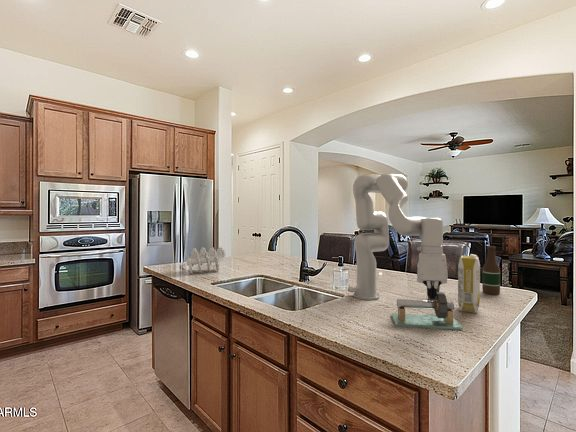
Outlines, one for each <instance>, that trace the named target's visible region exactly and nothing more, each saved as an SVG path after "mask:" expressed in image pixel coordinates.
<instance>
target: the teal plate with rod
mask: <svg viewBox="0 0 576 432" xmlns="http://www.w3.org/2000/svg"><path fill="white" fill-rule="evenodd" d="M447 305H448V313H447V316H446V318H438V317H437V316H436V314H435V315H434V314H433V315H432V314H417V313H416V314H415V313H414V314H413V313H406V309H407V308H409V309H410V308H411V309H428V310H429V309H430V310H434V309H437V310H438V300H436V301H431V300H428V299H426V300H424V299H401V298H397V299H396V306H397V307H396V308H397V313H394V312H391V315H390V316H391V318H392V321H393V324H394V326H395V327H401V328H404V327H405V328H417V329H418V328H419V329H420V328H421V329H422V328H423V329H433V330H434V329H435V330H453V331H454V330H455V331H463V329H464V328H463V326H462V325H461V324H460V323H459V322H458V321H457V320H456V319H455V318H454V309H455V303H454V301H453V300H452V301H449V300H448V301H447Z"/></svg>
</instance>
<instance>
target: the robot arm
mask: <svg viewBox="0 0 576 432" xmlns="http://www.w3.org/2000/svg"><path fill="white" fill-rule="evenodd" d="M407 189H408V179H407V178H406V176H404V175H403V174H400V173H399V174H398V173H383V174H380V175H378V174H363V175H359V176H357V177H356V178H355V180H354V181H353V184H352V194H353V197H354V201H355V202H354V203H355V217H356V225H357V228H358V229H359V230H361V231H373V232H363V233H359V234H358V235H356V236H355V238H354V241H353V243H354V249H355V253H356V254H355V255H356V285H355V286H354V287H347V292H350V293H353V297H354V298H355V299H360V300H365V301H367V300H368V301H373V300H377V299H380V296H381V295H380V293H378V292H377V259H376V257H375V256H374V252H375V253H376V252H384V251H386V250H387V249H388V248H389V245H390V233H389V231H390V229H389V222H390V224H391V226H393V228H394V229H395V231H396V232H397V234H399V235H401V236H403V237H409V236H410V237H411V236H412V237H413V236H417V237H418V236H420V246H417V247H416V250H417V251H419V254H418V260H417V269H416V275H417V277H416V282H417V283H420V284H423V285H424V286H426V296H427V297H428V296H429V298H430V299H432V298H433V299H435V296H436V289H437V288H438V286H440V285H443V284H448V278H449V276H448V275H449V274H448V264H447V263H448V261H447V258H446V257H447V256H446V254H445V253H444V252H443V251H444V249H443V248H444V236H443V235H444V229H443V228H444V221H443V220H442V218H440V217H425V216H406V215H405V213H404V212H403V211H402V209H401V208H402V207H404V206H405V205H406V204H407V203H408V200H409V196H408V194H407V193H406V190H407ZM370 193H371V194H375V193H376V194H377V193H380V194H381V195H382V197H383V199H384V200H385V201H386V203H387V204H388V211H387V213H388V217H387V215H386V213H385V212H384V211H381V210H374V202H373V199H372V197H371V196H370ZM430 281H433V285H432V287H431V284H430Z"/></svg>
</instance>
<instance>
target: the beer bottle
mask: <svg viewBox="0 0 576 432" xmlns="http://www.w3.org/2000/svg"><path fill="white" fill-rule="evenodd" d="M486 249H487V255H486V256H487V257H486V258H487V259H486V261H485V263H484V264H483V266H482V293H484V294H486V295H491V296H492V295H494V296H496V295H497V296H498V295H500V293H501V268H500V265H499V264H498V262H497V257H496V255H497V254H496V249H497V248H496V246H494V245H489V246H487V248H486Z"/></svg>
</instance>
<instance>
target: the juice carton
mask: <svg viewBox="0 0 576 432" xmlns="http://www.w3.org/2000/svg"><path fill="white" fill-rule="evenodd" d="M480 263H481V262H480V260H479V256H478V255H477V254H473V253H469V255H461V256H460V258H459V260H458V264H457V265H458V269H457V270H458V271H457V278H458V279H457V301H458V302H457V304H458V308H459V311H460V312H466V313H473V314H477V313H478V311H479V308H480V300H481V299H480V298H481V297H480V296H481V295H480V293H481V264H480Z"/></svg>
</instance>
